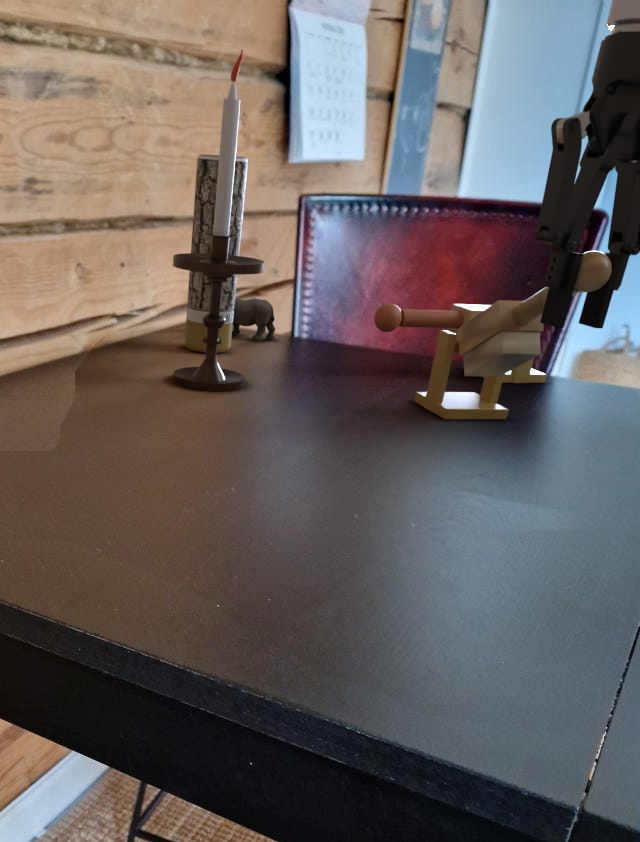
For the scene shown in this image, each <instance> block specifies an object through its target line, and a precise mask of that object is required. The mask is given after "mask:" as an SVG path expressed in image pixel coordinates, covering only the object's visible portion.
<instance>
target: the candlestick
mask: <svg viewBox="0 0 640 842" xmlns="http://www.w3.org/2000/svg"><path fill="white" fill-rule="evenodd" d="M243 60H244V49H241V50H240V54H239V56H238V58H237V59H236V61H235V62H234V65H233V67H232V70H231V72H230V81H231V84H230V88H229V92H228V94H227V97H226V98H223V100H222V101H223V103H222V105H223V106H222V115H221V128H220V129H221V130H220V140H219V141H220V142H219V151H218V155H219V164H218V177H217V190H216V202H215V215H214V228H213V233H204V234H206V235H209V236H212V242H211V254H206V253H191V252H187V253H186V252H185V253H176V254H173V256H172V267H174V268H176V269H179V270H185V271H189V272H190V271H196V272H201V274H202V275H204V276H205V277H206V280H208V281H210V282H211V293H210V306H209V314H207V315H205V316H204V317H203V319H202V321H203V324H204V326H205V327H207V333H206V338H203V339H202V342H203V343H206V353H204V354H205V357H204V359H203V360H202V362H201V363H200V365H199V366H188V367H180V368H177V369H175V370H174V371H173V374H172V375H173V376H172V381H173V383H175V384H176V385H178V386H180V387H184V388H188V389H192V390H198V391H206V392H207V391H208V392H227V391H228V392H229V391H230V392H231V391H236V390H240V389H242V388H244V386H245V379H246V377H245V375H244V374H243V373H240V372H237V371H235V370H231V369H226V368H221V367H220V364H219V362H218V360H217V353H216V352H217V344H221V343H222V340H221V339H218V338H219V328H222V327H223V325H224V323H225V318H224V317H223V316H222V315H220V305H221V293H222V283H224V282H227V281H228V278H231V277H234V276H235V274H236V275H237V276H239V275H245V276H246V275H259V274H262V273H264V270H265V261H264V260H262V259H259V258H254V257H249V256H242V255H239V256H234V255H228V249H229V238H230V237H236V236H237V235H232V234H229V228H230V216H231V205H232V193H233V182H234V171H235V159H236V157H237V148H238V147H237V146H238V135H239V124H240V112H241V102H242V101H241V99H238V94H237V84H236V83H235V82H237V80H238V76H239V73H240V71H241V65H242V63H243ZM232 82H233V83H232Z"/></svg>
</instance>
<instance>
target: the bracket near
mask: <svg viewBox="0 0 640 842" xmlns="http://www.w3.org/2000/svg"><path fill="white" fill-rule="evenodd" d="M456 339H457V334H456V333H453V332H451V331H450V330H449V329H440V330H439V332H438V338H437V342H436V347H435V351H434V356H433V362H432V367H431V371H430V375H429V380H428V384H427V390H426V391H415V394H414V395H415V396H414V398H413V399H414V400H413V402H414V403H416V404H418V405H419V406H421V407H423V408H424V409H425V410H427V411H428V412H431V413H433V414H435V415H437V416H439V417H440V418H442V419H443V420H507V418H508V414H509V408H507V407H505V406H503V405H501V404H499V403H498V400H499V396H500V393H501V389H502V384H503V383H502V381H503V377H504V375H502V376H485V378H483V382H482V386H481V391H480V394H479V393H477V392H475V391H446V388H447V383H448V380H449V375H450V370H451V366H452V361H453V356H454V353H453V352H454V348H455V343H456Z"/></svg>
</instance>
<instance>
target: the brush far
mask: <svg viewBox="0 0 640 842" xmlns="http://www.w3.org/2000/svg"><path fill="white" fill-rule="evenodd" d="M451 304H452V305H451V308H450V310H445V309H444V310H443V309H441V310H440V309H409V308H408V309H403V308H400V307H399V306H398V305H397V304H395V303H391V302H387V303H384V304H382V305H380V306H379V307H378V308H377V309H376V311H375V313H374V315H373V321H374V325H375V327H376V328H377V330H379V331H381V332H384V333H390V332H393V331H395V330H396V329H397V328H399V327H400V328H437V329H438V328H440V329H441V328H442V329H447V330H449V331H451V332H453V333H456V334H457V338H458V328H460V327H461V326H462V325H464V324H465V323H467V322H468V321H470V320H471V319H473V318H474V317H475V316H477V315H478V314H480V313H481V312H483V311H484V310H485V309H487V308H488V307H490V306H491V305H492V304H468V303H467V304H466V303H451Z"/></svg>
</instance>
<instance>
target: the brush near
mask: <svg viewBox="0 0 640 842" xmlns="http://www.w3.org/2000/svg"><path fill="white" fill-rule="evenodd" d="M602 252H603V251H598V250H589V251H585V252H584V253H582V254H583V258H582V261H581V265H580V269H579V272H578V276H577V280H576V283H575V287H574V291H573V294H572V297H574V296H576V295H577V294H579V293H587V292H593V291H596V290H598V289H600V288H601V287H602V286H603V285H605V283H606V282H607V281H608V279H609V277H610V275H611V271H612V265H611V261H610V259H609V258H608V256H607V255H605V254H604V253H602ZM548 290H549V287H545V286H544V288H542V289H541V290H539V291H538V292H536V293H534V294H533V295H532V296H530V297H528V298H527V299H525V300H501V299H499V300H497V301H495V302H494V303H493V304H490V305H491V306H490V307H488V308H487V309H485V310H484V311H483V312H481V313H480V314H478V315H477V316H475V317H474V318H473V319H471V320H470V321H468V322H467V323H465V324H464V325H462V326H461V327H460V328H458V338H457V339H456V343H455V348H454V352H453V354H459V355H458V356H459V357H462V359H463V370H464V371H463V373H464V374H463V375H464V377H480V376H502V375H504V374H506V373H507V372H509V371H511V370H513V369H515V368H517V367H518V366H520V365H522V364H524V363H526V362H527V361H529V360H531V359H533V358H534V359H535V358H537V357H538V356H540V355H541V354H542V352H541V350H542V349H541V338H540V337H541V334H542V333H543V332H544V329H545V328H544V324H543V323H540V321H541V317H542V313H543V309H544V305H545V301H546V298H547V294H548ZM540 333H541V334H540Z"/></svg>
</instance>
